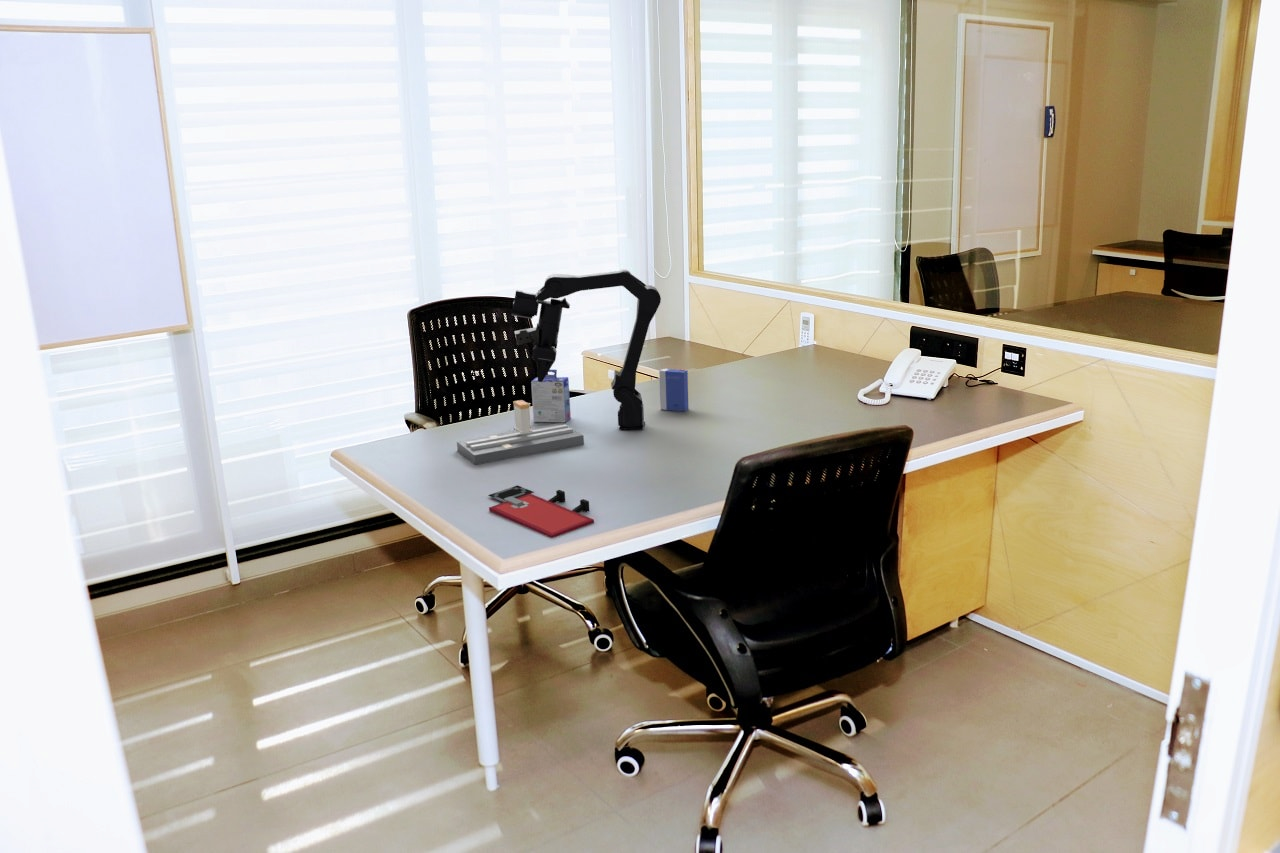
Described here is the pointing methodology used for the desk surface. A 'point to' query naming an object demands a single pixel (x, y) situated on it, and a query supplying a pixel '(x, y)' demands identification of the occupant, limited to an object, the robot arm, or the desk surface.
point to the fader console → (519, 443)
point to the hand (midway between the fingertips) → (540, 377)
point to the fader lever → (522, 417)
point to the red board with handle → (540, 511)
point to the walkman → (674, 389)
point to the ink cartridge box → (551, 399)
